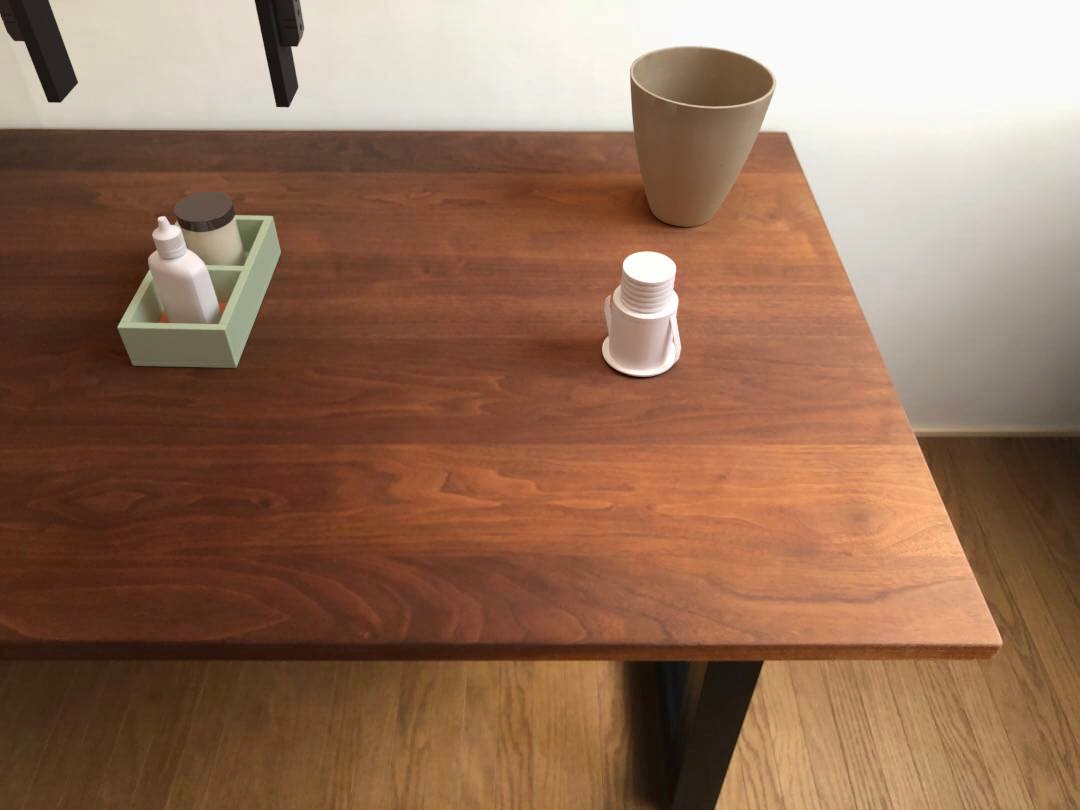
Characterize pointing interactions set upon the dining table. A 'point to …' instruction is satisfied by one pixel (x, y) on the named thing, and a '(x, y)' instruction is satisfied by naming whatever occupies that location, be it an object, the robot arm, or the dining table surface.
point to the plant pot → (695, 126)
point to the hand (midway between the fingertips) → (175, 95)
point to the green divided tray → (236, 296)
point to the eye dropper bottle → (181, 279)
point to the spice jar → (211, 228)
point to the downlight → (643, 317)
